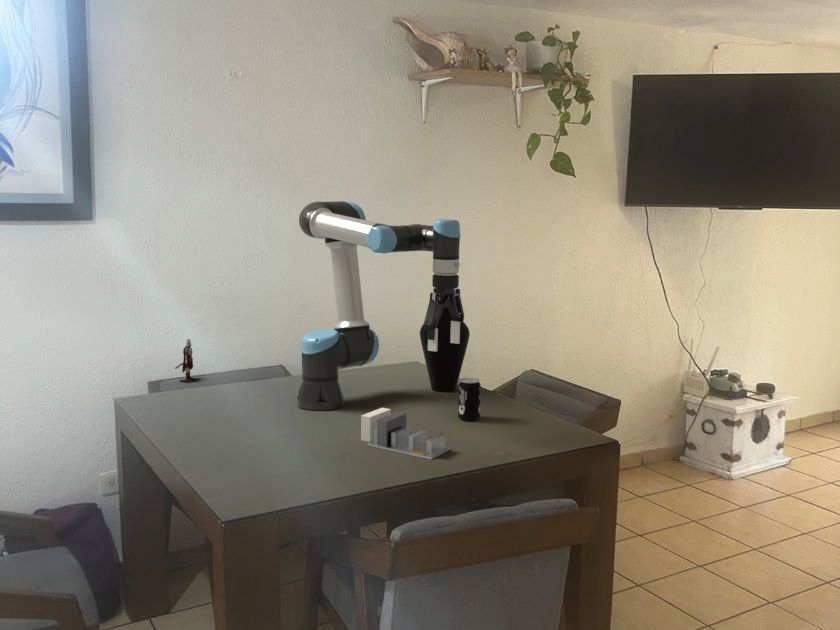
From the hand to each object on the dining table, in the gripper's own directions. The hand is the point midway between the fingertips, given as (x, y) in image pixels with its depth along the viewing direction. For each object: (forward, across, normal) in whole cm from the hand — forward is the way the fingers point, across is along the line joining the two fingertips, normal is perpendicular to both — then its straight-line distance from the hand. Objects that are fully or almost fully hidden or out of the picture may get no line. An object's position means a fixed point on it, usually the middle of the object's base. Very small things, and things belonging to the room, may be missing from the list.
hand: (444, 347), depth 230 cm
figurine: (+24, -1, +103) cm, 106 cm away
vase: (+24, +38, +20) cm, 49 cm away
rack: (+23, -23, -2) cm, 33 cm away
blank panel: (+24, -20, +10) cm, 32 cm away
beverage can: (+24, +10, -4) cm, 26 cm away
